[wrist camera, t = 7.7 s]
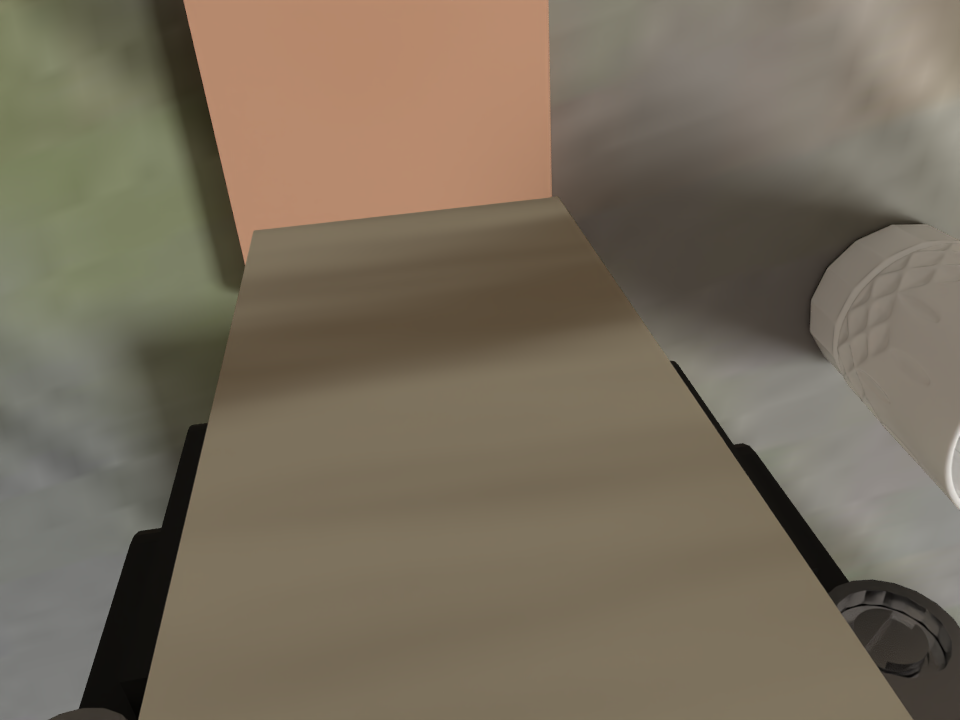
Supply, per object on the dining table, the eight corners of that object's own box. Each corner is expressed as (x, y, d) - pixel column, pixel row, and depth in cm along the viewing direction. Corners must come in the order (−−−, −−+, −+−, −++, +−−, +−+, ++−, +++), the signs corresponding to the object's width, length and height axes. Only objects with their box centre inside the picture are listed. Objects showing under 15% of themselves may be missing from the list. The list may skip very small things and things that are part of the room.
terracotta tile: (182, -32, 24) (176, -29, 23) (540, -61, 25) (547, -60, 24) (257, 295, 30) (255, 307, 29) (547, 261, 31) (552, 271, 30)
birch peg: (253, 230, 13) (91, 920, 4) (558, 196, 13) (939, 758, 5) (307, 471, 15) (270, 1191, 7) (559, 435, 16) (808, 1069, 8)
